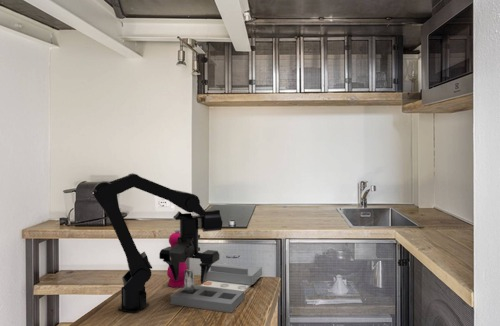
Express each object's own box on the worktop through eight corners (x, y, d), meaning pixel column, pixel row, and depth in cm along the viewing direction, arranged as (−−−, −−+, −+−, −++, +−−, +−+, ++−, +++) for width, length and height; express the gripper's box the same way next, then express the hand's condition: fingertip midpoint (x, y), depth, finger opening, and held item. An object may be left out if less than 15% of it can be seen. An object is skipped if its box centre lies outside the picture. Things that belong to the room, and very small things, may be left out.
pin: (182, 300, 113) (182, 271, 113) (187, 296, 116) (187, 268, 116) (191, 301, 112) (191, 272, 112) (195, 297, 115) (195, 269, 115)
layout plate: (197, 289, 122) (197, 286, 122) (209, 280, 131) (209, 278, 131) (241, 294, 117) (241, 292, 117) (250, 285, 126) (250, 283, 126)
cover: (204, 279, 130) (204, 265, 130) (217, 270, 141) (217, 257, 141) (252, 285, 124) (252, 270, 124) (262, 275, 135) (262, 261, 135)
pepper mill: (191, 282, 130) (191, 226, 130) (182, 289, 123) (182, 230, 123) (173, 280, 132) (173, 226, 132) (163, 287, 125) (163, 229, 125)
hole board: (170, 304, 110) (170, 295, 110) (188, 291, 120) (188, 284, 120) (231, 312, 103) (231, 304, 103) (244, 298, 114) (244, 291, 114)
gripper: (148, 235, 109) (149, 287, 109) (204, 240, 103) (204, 294, 103) (168, 229, 120) (169, 276, 120) (220, 232, 114) (220, 282, 114)
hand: (189, 281), depth 114 cm, fingers open, 9 cm apart
